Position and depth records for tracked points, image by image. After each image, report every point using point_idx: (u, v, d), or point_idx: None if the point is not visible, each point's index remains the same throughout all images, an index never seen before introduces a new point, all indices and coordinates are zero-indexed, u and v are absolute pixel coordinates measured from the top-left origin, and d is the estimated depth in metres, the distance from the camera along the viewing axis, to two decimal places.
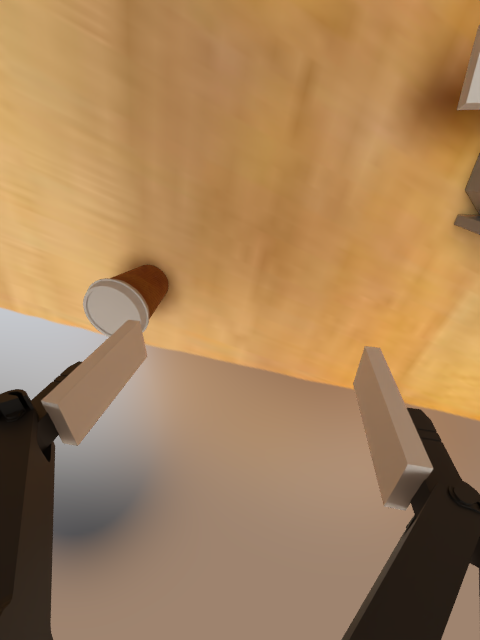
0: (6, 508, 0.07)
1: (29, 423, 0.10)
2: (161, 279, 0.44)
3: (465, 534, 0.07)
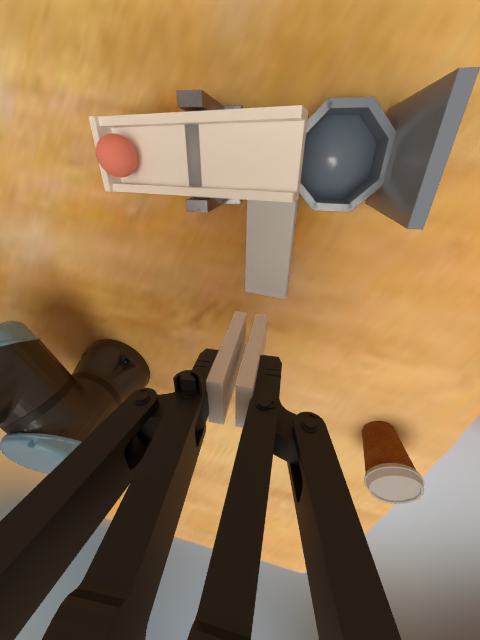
0: (155, 486, 0.08)
1: (195, 407, 0.11)
2: (376, 428, 0.53)
3: (269, 427, 0.10)
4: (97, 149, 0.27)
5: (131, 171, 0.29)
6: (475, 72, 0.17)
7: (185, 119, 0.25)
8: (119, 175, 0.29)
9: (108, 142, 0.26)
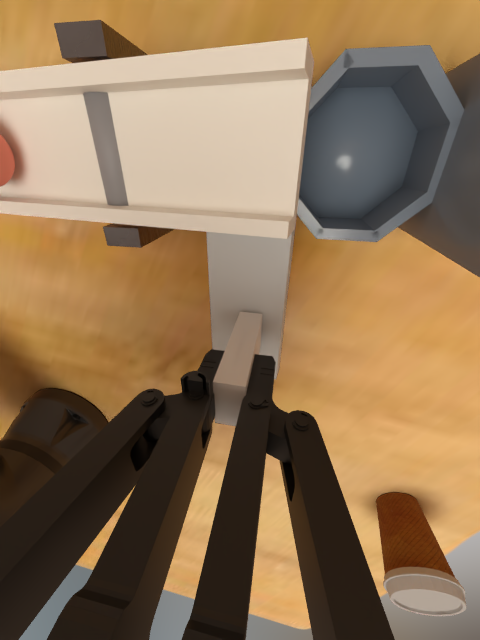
0: (161, 487, 0.08)
1: (202, 408, 0.11)
2: (396, 505, 0.41)
3: (262, 425, 0.10)
4: None
5: (1, 179, 0.16)
6: None
7: (74, 79, 0.13)
8: None
9: None
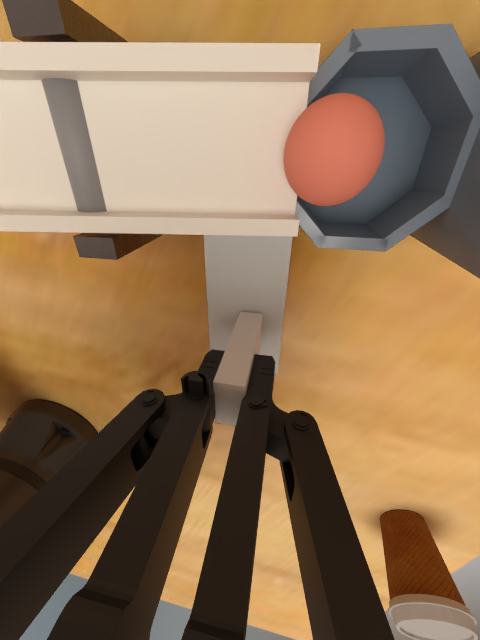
0: (161, 487, 0.08)
1: (202, 409, 0.11)
2: (401, 523, 0.39)
3: (261, 425, 0.10)
4: None
5: (310, 193, 0.11)
6: None
7: (41, 62, 0.10)
8: (303, 199, 0.12)
9: None
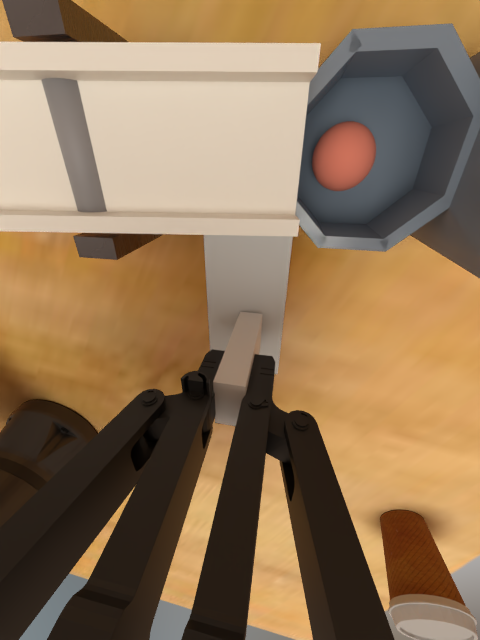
0: (161, 487, 0.08)
1: (202, 409, 0.11)
2: (401, 524, 0.39)
3: (261, 425, 0.10)
4: None
5: (334, 182, 0.18)
6: None
7: (41, 62, 0.10)
8: None
9: None
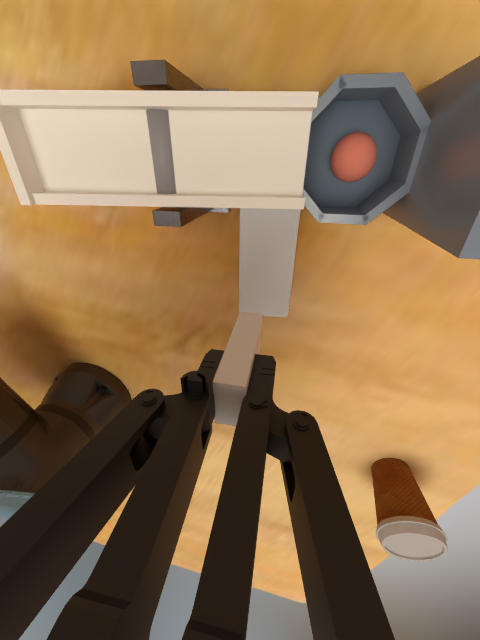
0: (161, 488, 0.08)
1: (202, 409, 0.11)
2: (389, 468, 0.46)
3: (262, 425, 0.10)
4: None
5: (358, 175, 0.24)
6: None
7: (153, 101, 0.18)
8: (343, 179, 0.25)
9: (343, 142, 0.24)
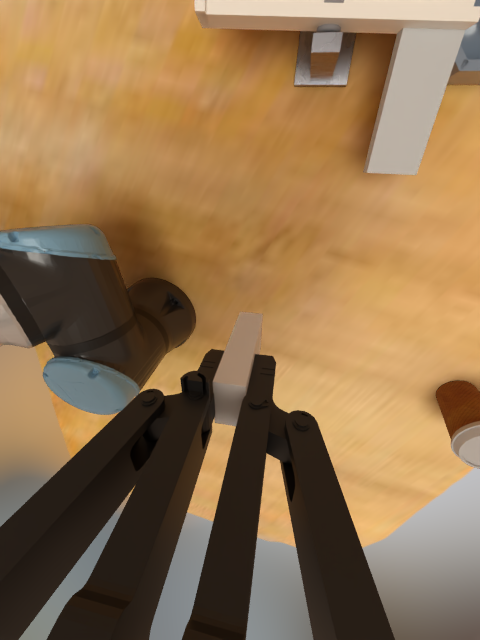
0: (161, 487, 0.08)
1: (202, 409, 0.11)
2: (459, 388, 0.47)
3: (262, 425, 0.10)
4: None
5: None
6: None
7: None
8: None
9: None
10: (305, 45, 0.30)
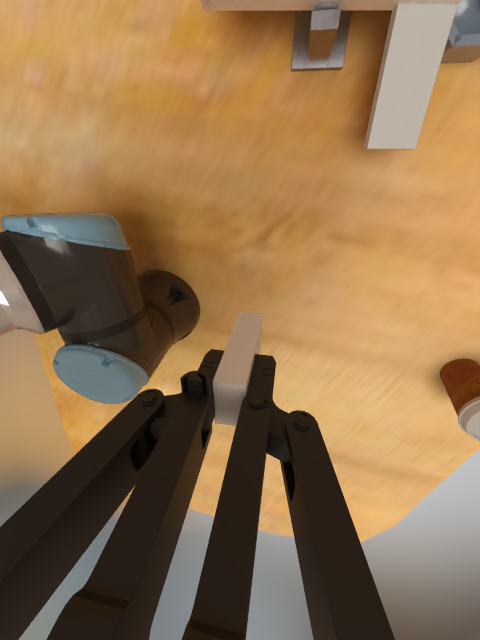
0: (161, 488, 0.08)
1: (201, 409, 0.11)
2: (463, 365, 0.47)
3: (262, 425, 0.10)
4: None
5: None
6: None
7: None
8: None
9: None
10: (301, 29, 0.31)
